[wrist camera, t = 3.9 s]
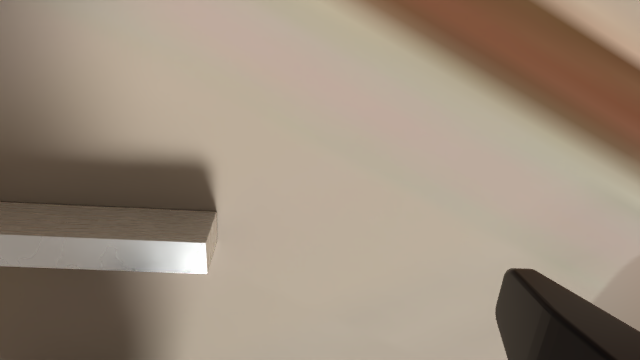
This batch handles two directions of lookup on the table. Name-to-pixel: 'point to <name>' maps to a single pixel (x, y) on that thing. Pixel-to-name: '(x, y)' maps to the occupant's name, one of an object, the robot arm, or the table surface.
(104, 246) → the guide channel
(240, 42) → the table surface
